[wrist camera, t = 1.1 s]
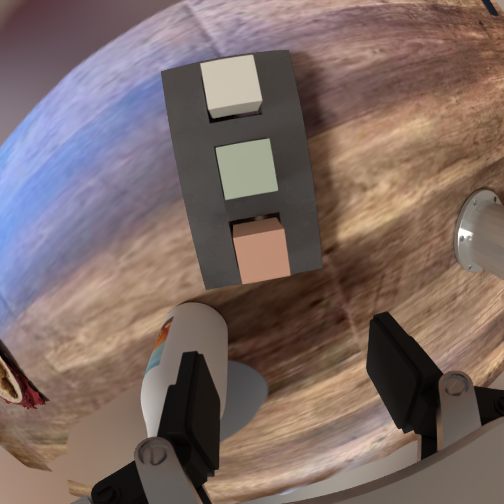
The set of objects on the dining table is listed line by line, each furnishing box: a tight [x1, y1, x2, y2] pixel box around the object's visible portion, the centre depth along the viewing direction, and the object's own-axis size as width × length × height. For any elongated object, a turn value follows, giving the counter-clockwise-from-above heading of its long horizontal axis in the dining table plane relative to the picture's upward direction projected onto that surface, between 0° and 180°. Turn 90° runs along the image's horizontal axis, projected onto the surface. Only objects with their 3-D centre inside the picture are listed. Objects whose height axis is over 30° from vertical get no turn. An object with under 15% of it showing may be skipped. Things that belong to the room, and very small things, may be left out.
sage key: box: [216, 139, 278, 200], centre depth 22 cm, size 4×4×4 cm
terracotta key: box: [233, 217, 290, 284], centre depth 24 cm, size 4×4×4 cm
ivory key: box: [200, 55, 262, 118], centre depth 20 cm, size 4×4×4 cm
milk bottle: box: [141, 302, 228, 438], centre depth 23 cm, size 8×8×20 cm
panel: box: [161, 50, 323, 290], centre depth 25 cm, size 12×22×3 cm, turn 10°
